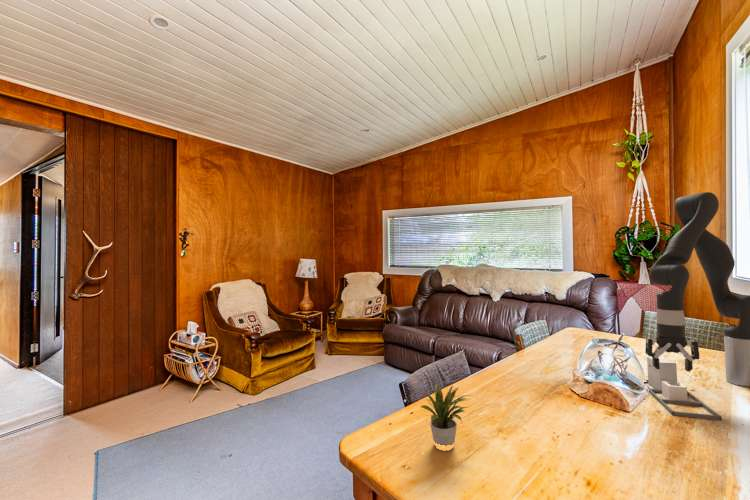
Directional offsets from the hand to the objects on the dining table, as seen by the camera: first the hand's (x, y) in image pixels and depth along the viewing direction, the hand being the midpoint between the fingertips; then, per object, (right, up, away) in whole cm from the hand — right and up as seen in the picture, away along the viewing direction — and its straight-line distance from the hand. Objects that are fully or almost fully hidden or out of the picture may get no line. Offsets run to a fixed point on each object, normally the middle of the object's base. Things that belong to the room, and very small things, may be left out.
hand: (672, 369), depth 120 cm
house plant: (-84, -12, -27) cm, 89 cm away
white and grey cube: (+1, -10, 0) cm, 10 cm away
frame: (+1, -10, 0) cm, 10 cm away
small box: (+4, -10, +9) cm, 14 cm away
